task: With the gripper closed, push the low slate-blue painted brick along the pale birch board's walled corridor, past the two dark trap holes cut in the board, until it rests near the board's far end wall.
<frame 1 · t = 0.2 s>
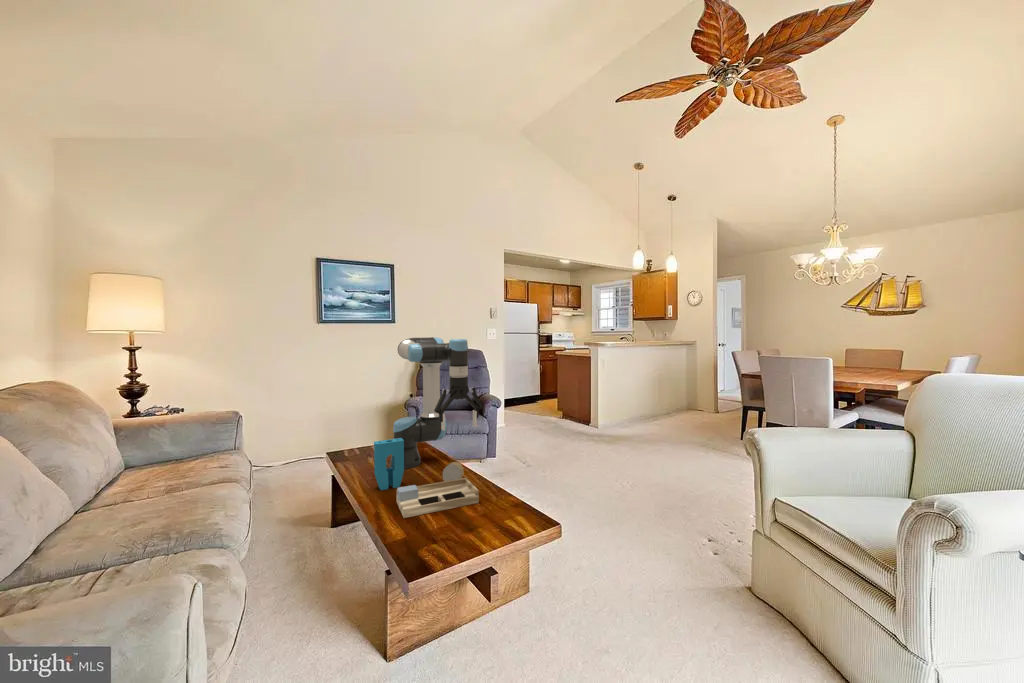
hand: (459, 427, 162), 28 cm above the table, fingers open, 13 cm apart
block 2: (389, 487, 172), on the table
block: (407, 497, 153), point 3 cm above the table, touching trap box
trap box: (437, 502, 156), on the table
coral: (454, 482, 177), on the table
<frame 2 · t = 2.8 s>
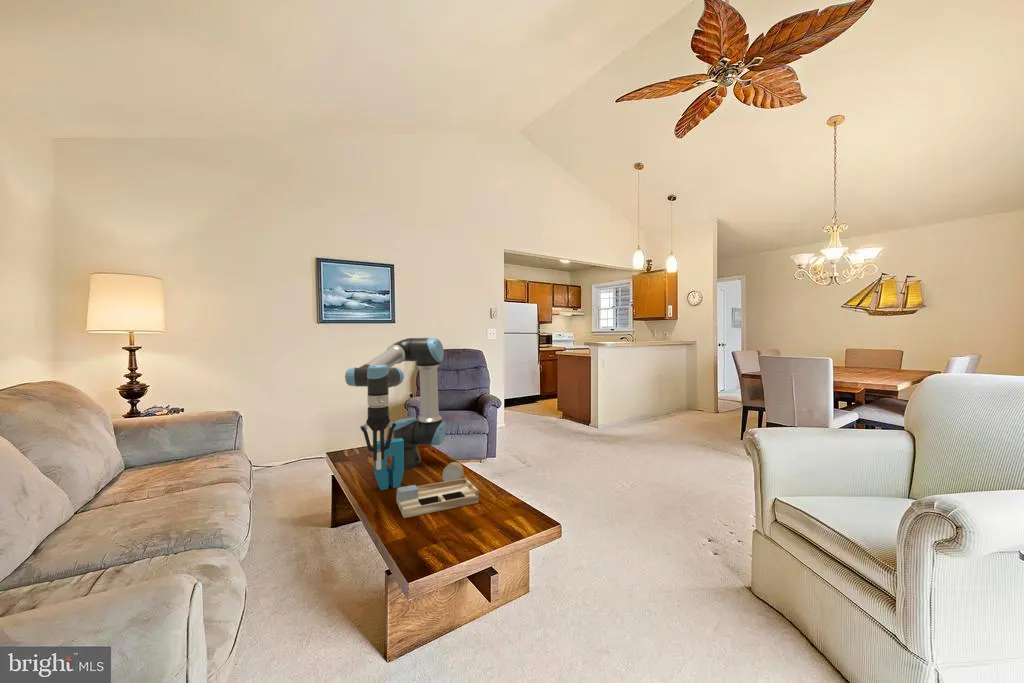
hand: (378, 468, 148), 16 cm above the table, fingers closed
nothing on the table moved.
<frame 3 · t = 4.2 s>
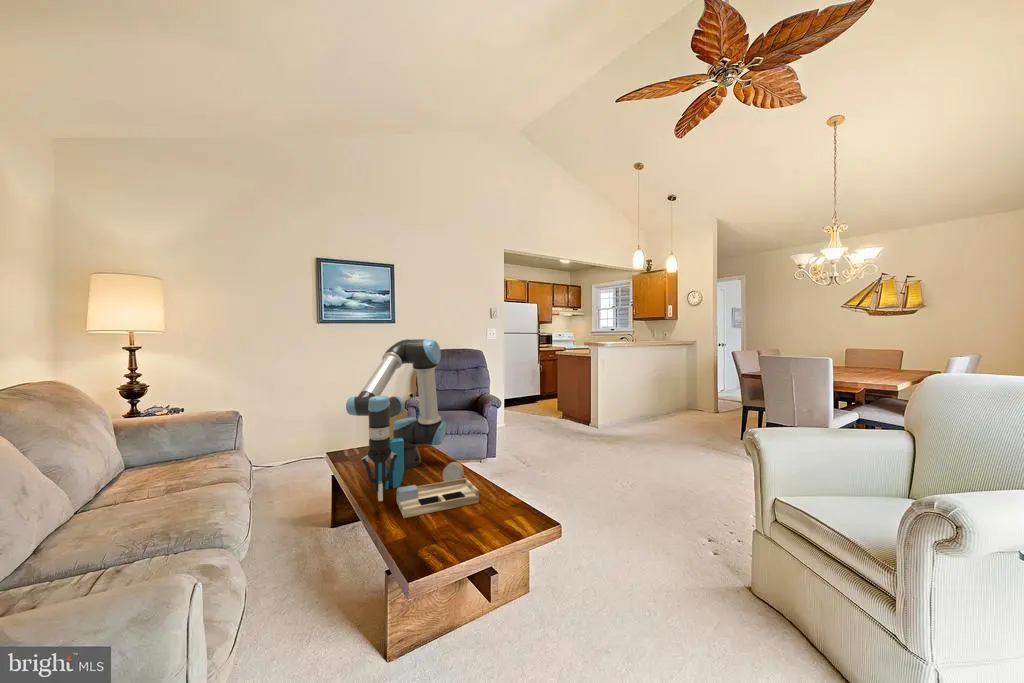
hand: (380, 499, 149), 4 cm above the table, fingers closed
nothing on the table moved.
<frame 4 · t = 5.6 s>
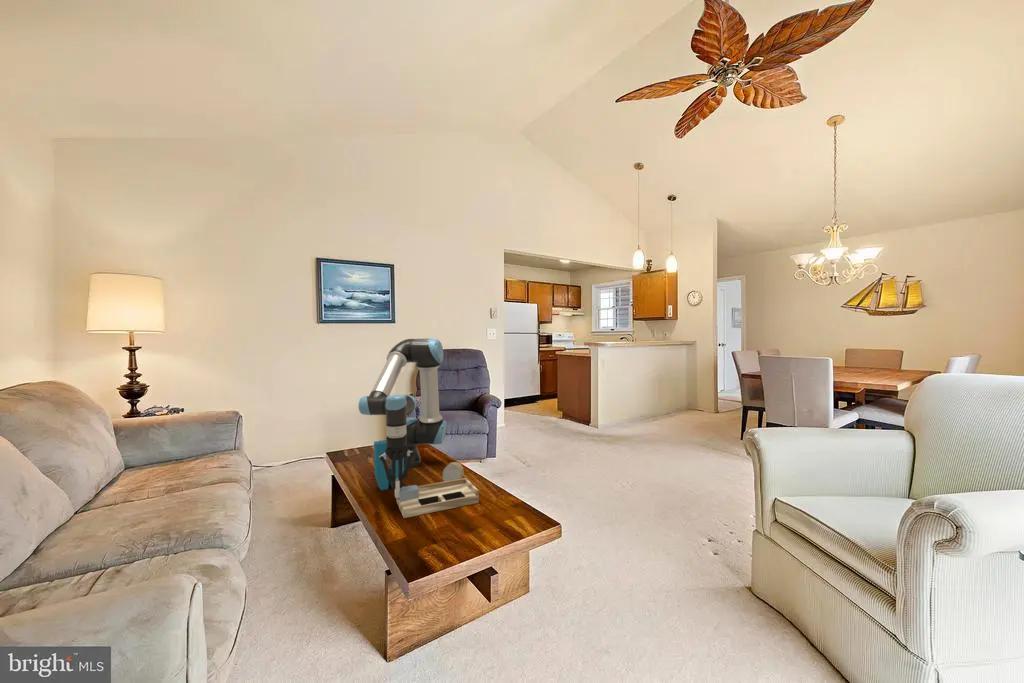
hand: (397, 496, 152), 4 cm above the table, fingers closed
block: (408, 497, 153), point 3 cm above the table, touching gripper
everything else where it was.
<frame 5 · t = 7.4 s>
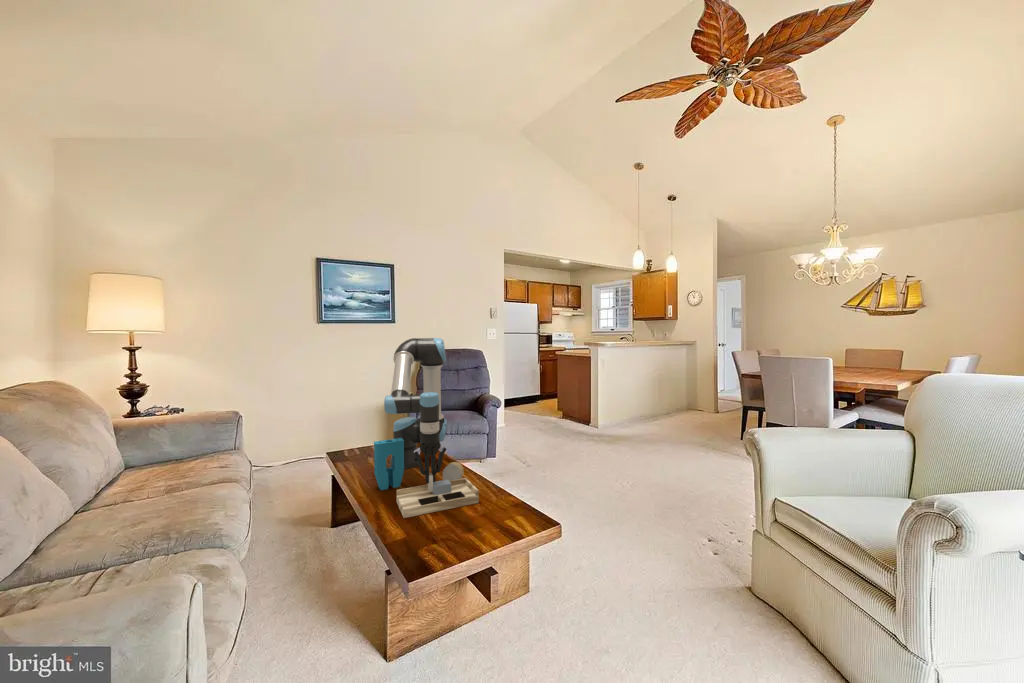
hand: (430, 490, 157), 4 cm above the table, fingers closed
block: (441, 491, 159), point 3 cm above the table, touching gripper
everything else where it was.
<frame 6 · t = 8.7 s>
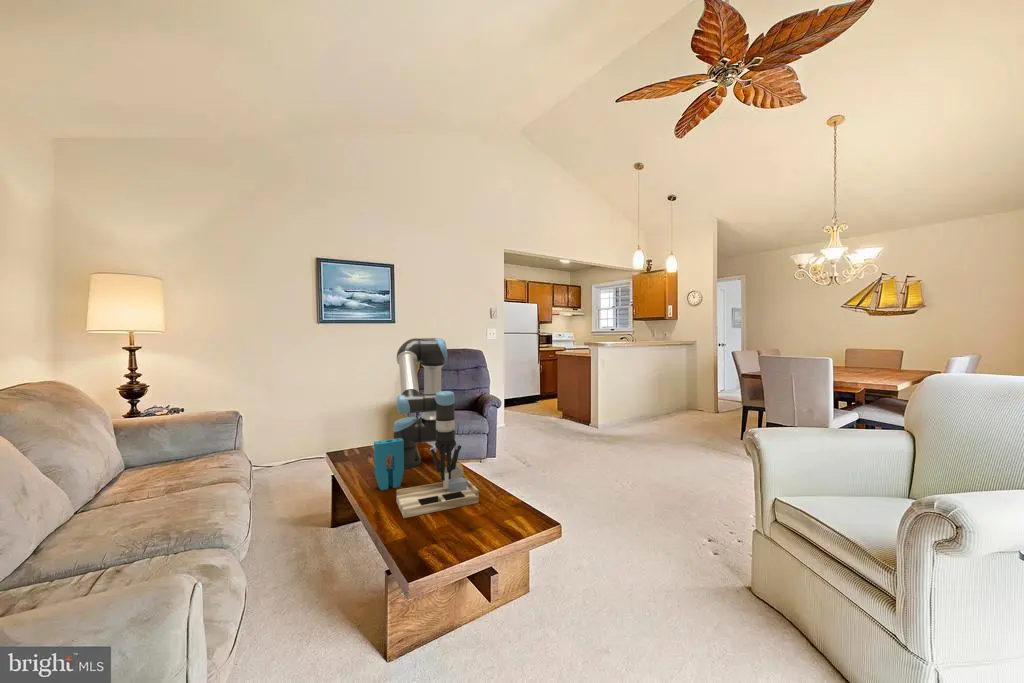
hand: (445, 487, 160), 4 cm above the table, fingers closed
block: (456, 489, 161), point 3 cm above the table, touching gripper
everything else where it was.
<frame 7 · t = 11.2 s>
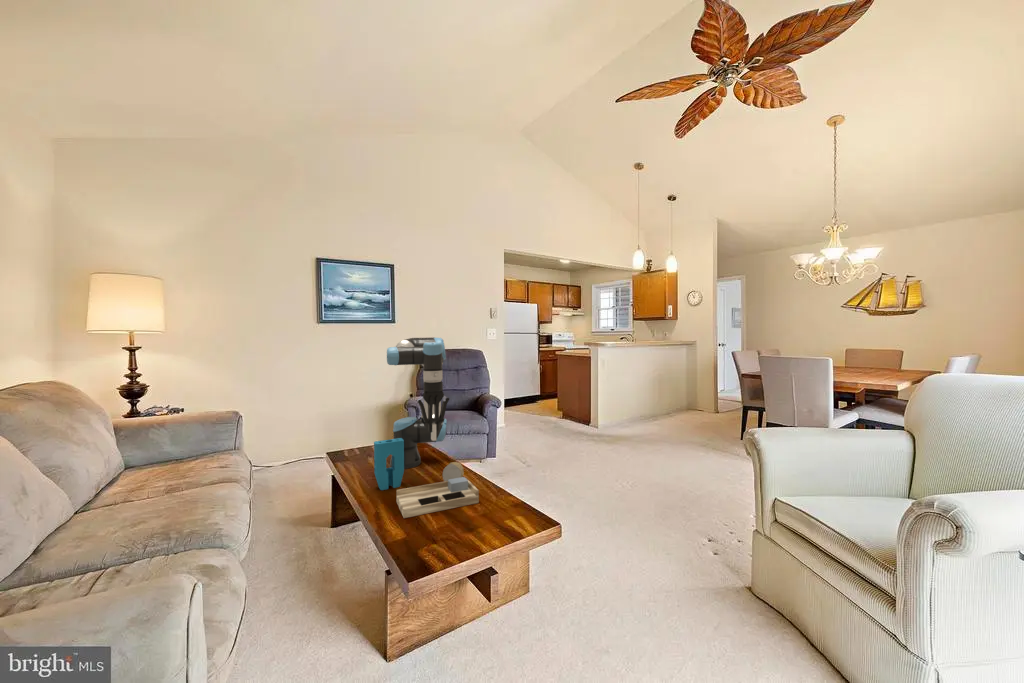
hand: (433, 439, 158), 24 cm above the table, fingers closed
block: (457, 488, 162), point 3 cm above the table, touching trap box
everything else where it was.
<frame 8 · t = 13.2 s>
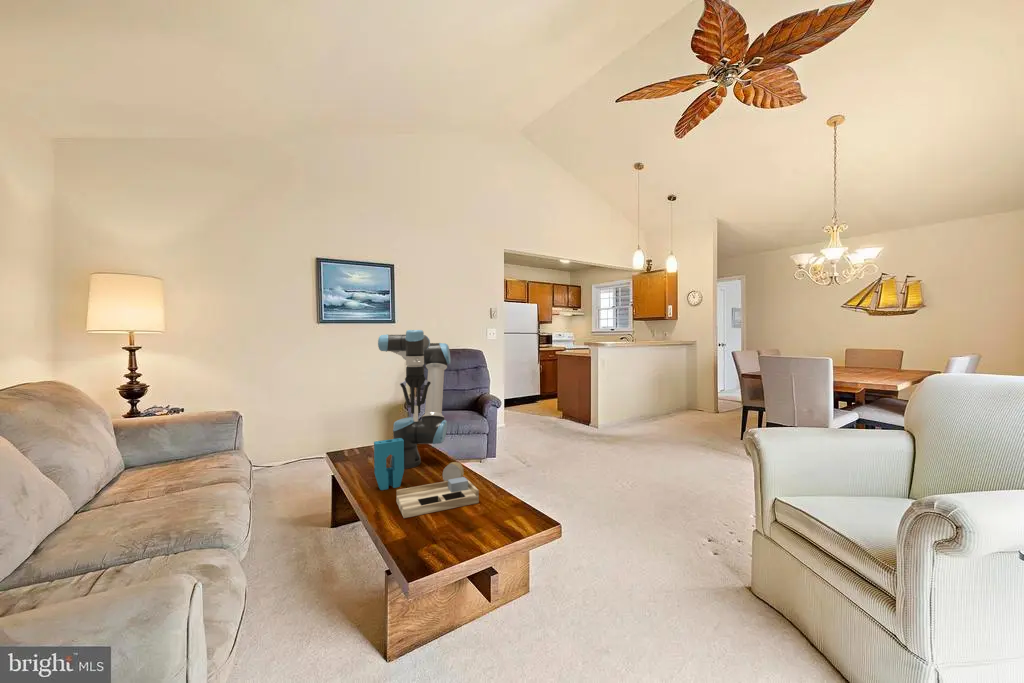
hand: (415, 420, 169), 29 cm above the table, fingers closed
nothing on the table moved.
at the end: block inside the target area on the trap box (0.7 cm from its centre), point 3.0 cm above the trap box's base; block tilted 0° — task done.
